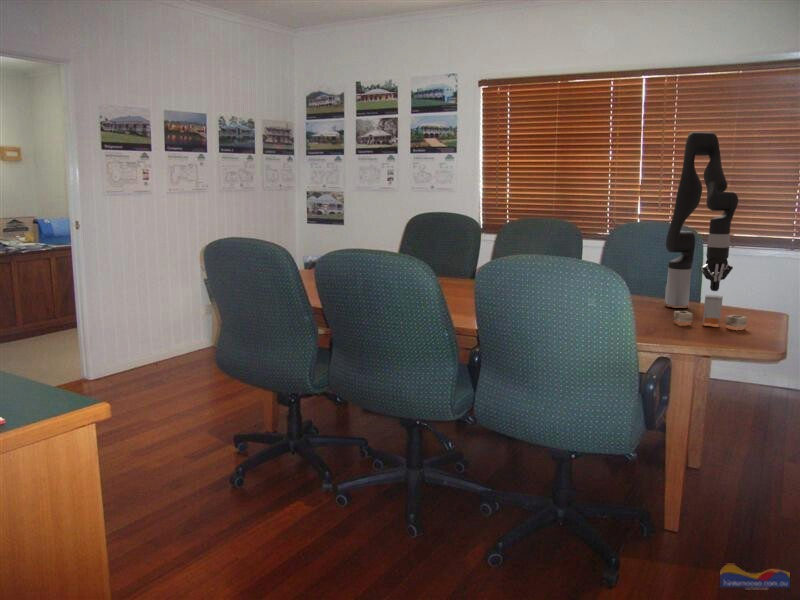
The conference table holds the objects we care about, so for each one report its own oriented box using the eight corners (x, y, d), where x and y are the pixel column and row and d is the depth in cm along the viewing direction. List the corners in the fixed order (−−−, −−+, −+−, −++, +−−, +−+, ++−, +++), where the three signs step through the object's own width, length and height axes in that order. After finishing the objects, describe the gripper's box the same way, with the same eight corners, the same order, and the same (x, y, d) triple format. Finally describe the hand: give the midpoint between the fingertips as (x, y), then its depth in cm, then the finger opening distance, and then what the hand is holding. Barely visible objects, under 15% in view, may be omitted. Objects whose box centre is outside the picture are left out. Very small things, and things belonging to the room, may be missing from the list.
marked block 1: (673, 323, 263) (674, 310, 262) (685, 323, 263) (686, 310, 262) (678, 326, 258) (679, 313, 257) (691, 326, 258) (692, 313, 257)
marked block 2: (725, 328, 254) (726, 315, 253) (734, 327, 256) (735, 313, 255) (736, 331, 250) (738, 318, 248) (745, 330, 252) (747, 316, 251)
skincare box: (702, 326, 257) (704, 296, 254) (702, 324, 261) (705, 294, 258) (719, 328, 254) (722, 297, 252) (720, 326, 258) (722, 295, 255)
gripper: (727, 243, 256) (723, 288, 259) (696, 244, 253) (692, 289, 257) (740, 246, 249) (736, 291, 252) (709, 247, 246) (705, 293, 250)
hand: (714, 290), depth 255 cm, fingers closed
